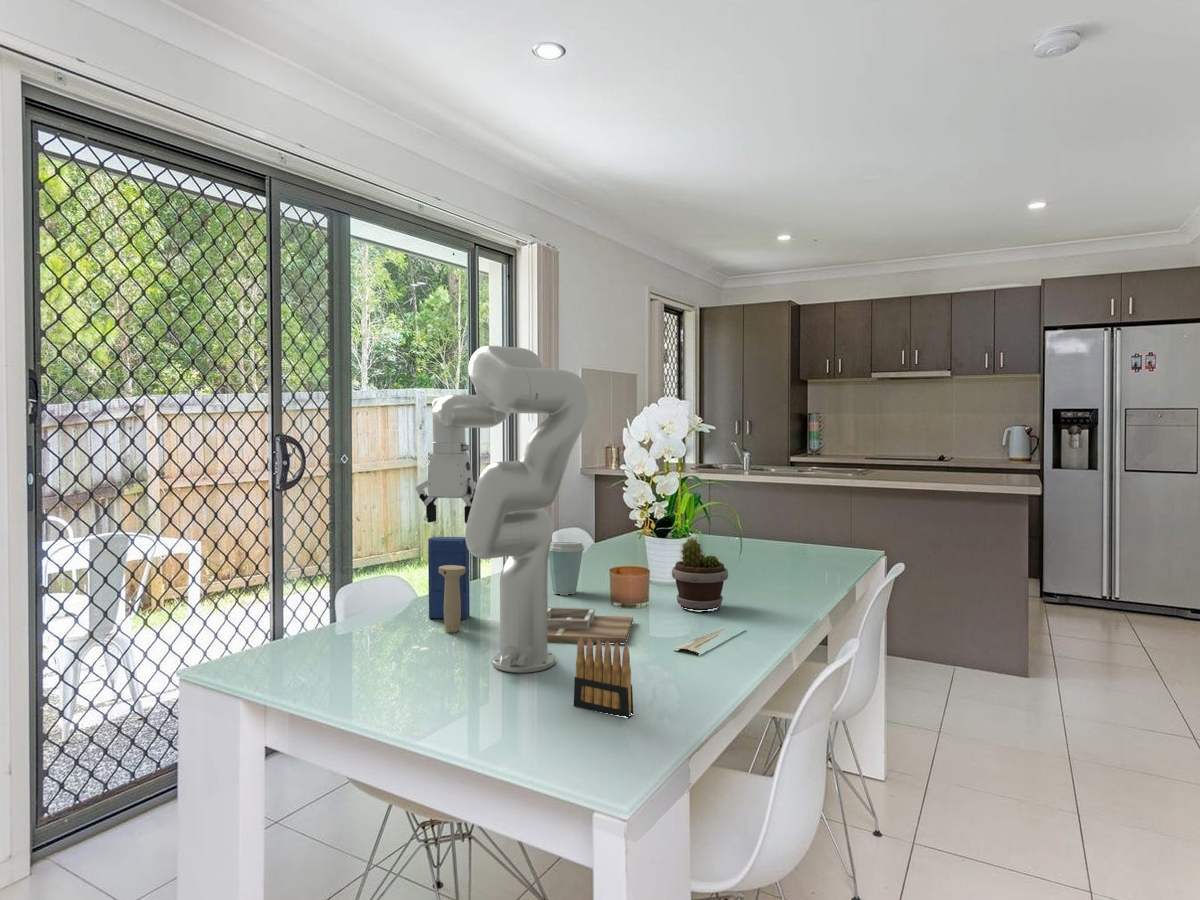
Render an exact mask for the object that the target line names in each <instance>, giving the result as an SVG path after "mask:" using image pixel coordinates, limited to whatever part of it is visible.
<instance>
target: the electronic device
mask: <svg viewBox="0 0 1200 900" xmlns="http://www.w3.org/2000/svg"><path fill="white" fill-rule="evenodd" d="M427 541H428V546H427V547H428V549H427V550H428V556H427V557H428V558H427V559H428V561H427V562H428V619H429V618H434V620H444V592H445V577H444V576H443V575H442V574H440V573H439V567H440V566H445V565H457V566H463V567H466V572H465V573H464V574H463V575H461V576H460V579H459V584H460V600H461V619H460V620H463V619H465V620H466V619H468V618H469V617H470V615H471V613H470V605H471V604H470V552H469V550H468V548H467V545H466V540H465V536H431V537H429V538H427Z"/></svg>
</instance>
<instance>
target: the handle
mask: <svg viewBox="0 0 1200 900" xmlns="http://www.w3.org/2000/svg"><path fill="white" fill-rule="evenodd" d="M465 572H466V567H463V566H457V565H445V566H440V567H439V573H440V574H442V575H443V576H444V577H445V592H444V619H443V621H444V624H445V626H444V628H445V632H446V633H450V634H451V633H458V632H459V631H460V628H461V626H460V624H461V620H462V619H461V600H460V584H459V579H460V576H461V575H463V574H464V573H465Z"/></svg>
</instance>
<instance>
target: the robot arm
mask: <svg viewBox="0 0 1200 900" xmlns="http://www.w3.org/2000/svg"><path fill="white" fill-rule="evenodd" d="M542 363H543V361H541V358H540V357H539V355H537V353H535V352H534V351H532V350H530V349H527V348H524V347H515V346H501V345H484V346H481V347H479V348H477V350H475V351H474V353H473V354H472V355H471V357H470V360H469V362H468V375H469V379H470V381H471V383H472V385H473V386H474V390H475V391H474V392H475V394H448V395H445V396H444V397H442V396H441V397H436V398H434V399H433V401H432V403H431V404H432V405H431V407H432V408H431V409H432V410H431V411H432V412H431V413H432V414H431V415H432V418H431V419H432V455H430V458H429V464H428V471H427V480H425V481H424V482H422V483H420V484H419V485H416V487H415V490H416V492H417V494H418V497H419V499H420V500H421V502H423V505H424V506H425V509H426V511H425V512H426V513H425V515H426V520H427V523H434V522H436V521H437V505H436V503H435V502H436V501H437V500H438V499H460V498H461V499H462V501H463V502H464V503H465V506H464V510H463V511H464V523H465V524H466V525H465V526H466V527H465V535H464V537H465V540H466V545H467V548H468V550H469V554H470V555H472V556H473V557H475V558H477V559H483V560H486V559H488V560H489V559H498V558H506V561H505V563H504V564H503V566H502V569H501V571H500V576H499V577H500V579H499V622H500V623H499V636H500V639H499V646H500V649H499V652H497V653H496V654H495V655H494V656H492V665H493V668H496V669H498V670H500V671H503V672H508V673H517V674H518V673H526V674H527V673H533V672H535V673H536V672H541V671H544V670H546V669H549V668H551V667H552V666H554V665H555V663H556V655H555V654H554V653H553V652H551V651H550V650H549V649H548V646H549V644H548V643H549V642H548V607H549V606H548V597H549V596H548V588H549V587H548V576H549V575H548V574H549V569H548V568H549V551H550V545H551V542H552V539H553V522H552V518H551V516H550V515H549V514H548V512H547V511H545V510H544V509H545V508H548V507H550V506H551V505H553V504H554V502H555V501H556V499H557V497H558V494H559V491H560V488H561V484H562V483H563V479H564V476H565V473H566V470H567V468H568V464H569V461H570V457H571V454H572V452H573V449H574V447H575V444H576V442H577V441H578V439H579V436H580V435H581V433H582V431H583V429H584V427H585V424H586V422H587V418H588V415H589V407H590V396H589V392H588V387H587V384H586V383H585V381H584V380H583V379H582V377H580V376H579V375H578V374H576V373H574V372H572V371H568V370H564V369H559V368H558V369H557V368H546V367H545V368H543V364H542ZM511 414H536V415H537V414H547V417H546V418H545V419H544V420H543V421H541V422H540V423H539V424H538V425H537V427H536V428H535V429H534V430H533V432H532V433H531V434H530V436H529V437H528V440H527V443H526V447H525V450H524V452H523V455H522V457H521V458H520V459H518V460H506V461H495V462H493V463H490V464H489V465H487V466H486V467H485V468H484V469H483V471H482V472H481V473H480V475H479V477H478V480H477V482H476V481H474V478H473V477H474V476H473V470H472V464H471V458H470V455H467V454H466V453H467V451H471V445H470V444H467V441H466V428H467V429H468V428H469V429H480V428H481V429H486V428H487V429H488V428H493V427H496V426H498V425H500V424H501V423H503V422H504V421H506V420H507V419H508V418H509V417H510V415H511ZM426 489H427V494H426V491H425V490H426ZM474 490H475V491H474Z"/></svg>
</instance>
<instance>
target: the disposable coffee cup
mask: <svg viewBox="0 0 1200 900" xmlns="http://www.w3.org/2000/svg"><path fill="white" fill-rule="evenodd" d="M584 551H585V547H584V545H583V542H582V541H580V542H579V541H570V540H569V541H563V540H562V541H560V540H559V541H551V545H550V551H549V558H548V562H549V568H550V576H551V578H550V579H551V585H552V591H553V594H554V593H555V595H556V594H560V595H559V596H568V595H567V594H573V593H575V594H576V592H577V588H578V582H579V576H580V571H581V565H582V557H583V554H584V553H583V552H584ZM573 595H574V594H573Z"/></svg>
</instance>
